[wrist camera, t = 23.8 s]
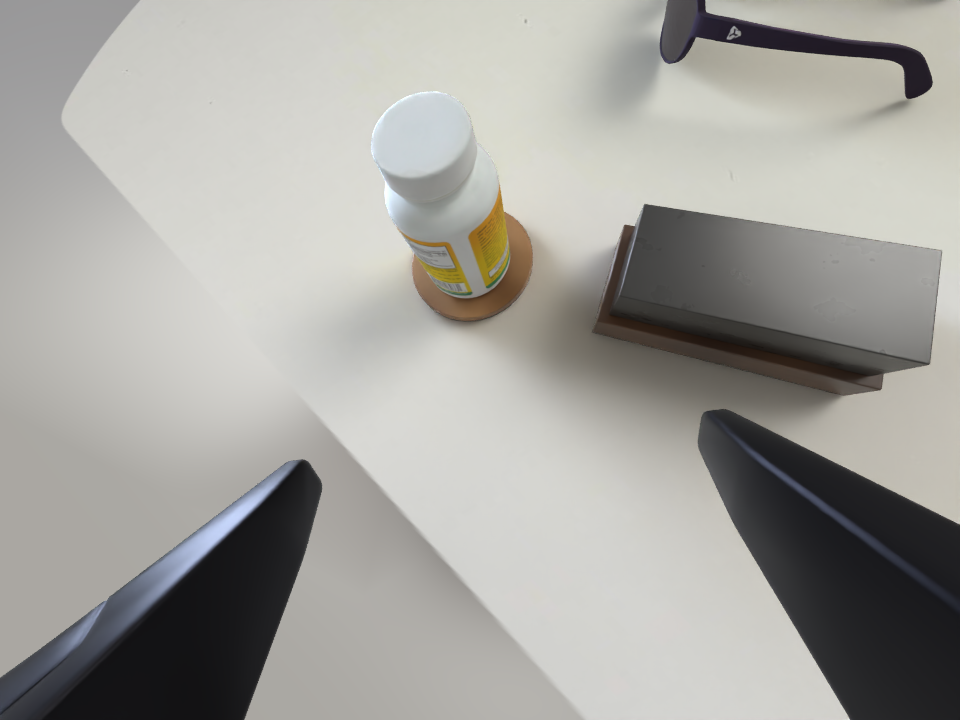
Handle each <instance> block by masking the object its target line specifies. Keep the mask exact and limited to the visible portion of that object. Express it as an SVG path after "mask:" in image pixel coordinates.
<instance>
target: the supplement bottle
mask: <svg viewBox="0 0 960 720" xmlns="http://www.w3.org/2000/svg"><path fill="white" fill-rule="evenodd" d="M371 150H372V155H373V158H374V161H375V163H376V165H377V166H378V168H379V170H380V172H381V173H382V175H383V177H384V180H385V181H386V184H385V202H386V207H387V210H388V213H389V215H390V217H391V219H392V221H393V223H394V224H395V226H396V227H397V229H398V230H399V232H400V233H401V235H402V236H403V238H404V239H405V241H406V242H407V244H408V245H409V247H410V248H411V250H412V251H413V253H414V254H415V255H416V257H417V258H418V260H419V261H420V263H421V264H422V266H423V267H424V269H425V270H426V272H427V273H428V275H429V276H430V278H431V279H432V281H433V282H434V283H435V285H436V286H437V287H438V288H439V289H440V290H442V291H443V292H445V293H446V294H448V295H451V296H453V297H457V298H474V297H478V296H481V295H483V294H485V293H487V292H489V291H490V290H492V289H493V288H495V287H496V286H497V284H498V283H499V282H500V281H501V280H502V278H503V277H504V275H505V273H506V271H507V269H508V266H509V262H510V248H509V241H508V235H507V229H506V223H505V217H504V210H503V204H502V197H501V190H500V184H499V178H498V173H497V169H496V166H495V164H494V162H493V160H492V158H491V156H490V155H489V153H488V152H487V151H486V150H485V149H484V148H483V147H482V146H481V145H480V144H479V143H477V141H476V137H475V135H474V130H473V126H472V123H471V119H470V116H469V113H468V111H467V110H466V108H465V107H464V105H463V104H462V103H461V102H460V101H458V100H457V99H456V98H454V97H453V96H451V95H449V94H446V93H442V92H433V91H430V92H421V93H416V94H413V95H410V96H408V97H405V98H404V99H402V100H400V101H398V102H397V103H396V104H394V105H393V106H391V107H390V108H389V109H388V110H387V111H386V112H385V114H384V115H383V116H382V117H381V118H380V120H379V121H378V123H377V125H376V127H375V129H374V132H373V134H372V140H371Z"/></svg>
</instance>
